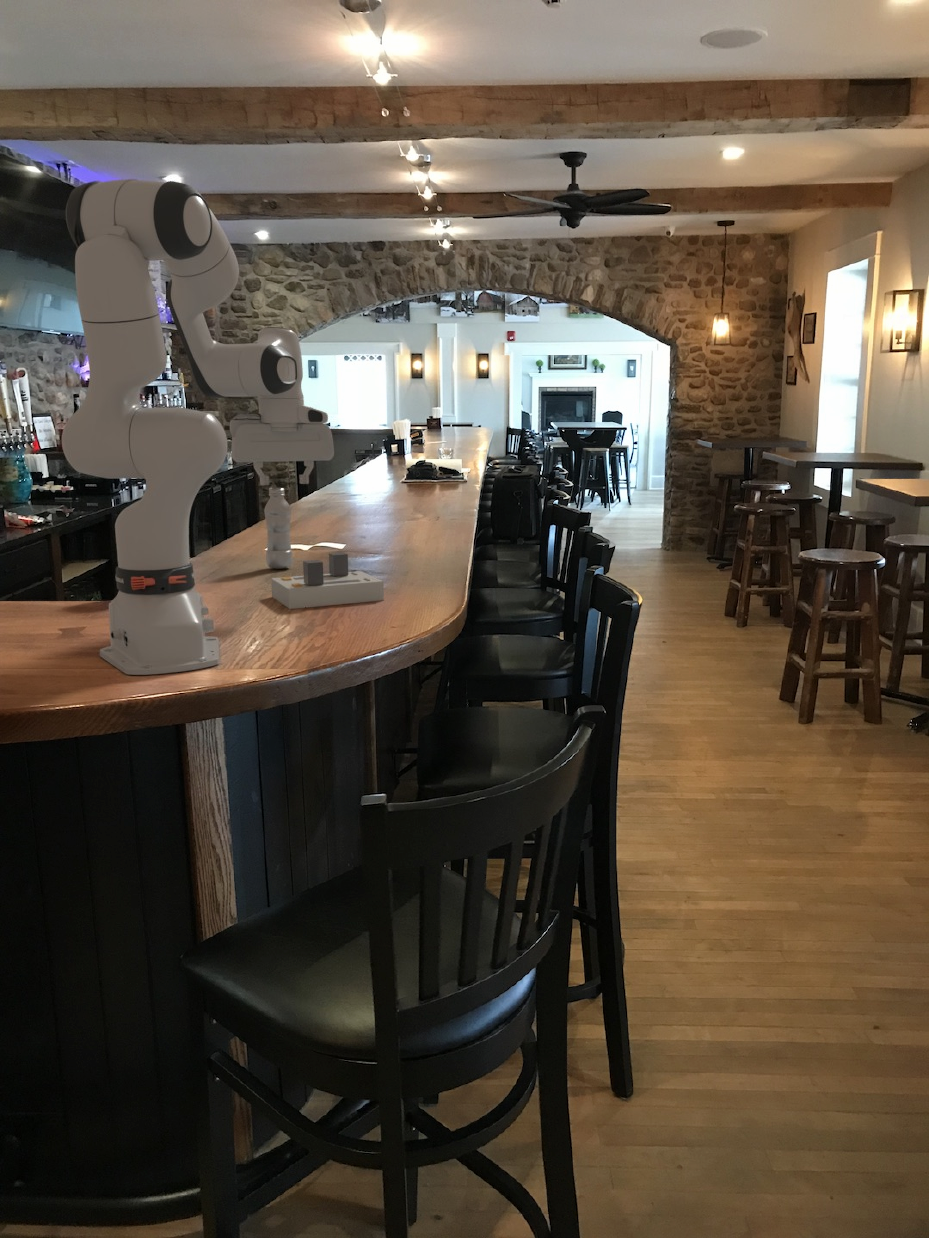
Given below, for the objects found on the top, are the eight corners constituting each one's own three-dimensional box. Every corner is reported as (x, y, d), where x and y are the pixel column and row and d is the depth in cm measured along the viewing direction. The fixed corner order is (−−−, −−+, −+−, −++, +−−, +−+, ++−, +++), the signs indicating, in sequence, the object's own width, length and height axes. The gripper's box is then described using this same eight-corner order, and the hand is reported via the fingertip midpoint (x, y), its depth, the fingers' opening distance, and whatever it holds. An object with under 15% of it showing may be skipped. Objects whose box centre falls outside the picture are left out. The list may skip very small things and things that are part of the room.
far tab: (348, 575, 200) (347, 554, 199) (334, 576, 198) (333, 555, 197) (343, 572, 203) (342, 552, 202) (329, 573, 201) (328, 553, 200)
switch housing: (383, 600, 194) (383, 579, 193) (289, 608, 186) (288, 587, 185) (361, 589, 207) (360, 569, 206) (271, 596, 198) (271, 576, 197)
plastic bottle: (265, 567, 236) (261, 487, 231) (292, 566, 238) (288, 487, 233) (267, 571, 230) (263, 489, 225) (295, 570, 232) (291, 489, 227)
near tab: (323, 584, 189) (322, 562, 188) (308, 585, 188) (307, 563, 187) (318, 581, 192) (318, 559, 191) (303, 582, 191) (302, 561, 190)
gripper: (232, 414, 177) (236, 487, 180) (335, 414, 186) (337, 483, 189) (225, 414, 183) (229, 485, 186) (325, 414, 192) (328, 481, 195)
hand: (284, 484), depth 188 cm, fingers open, 7 cm apart
